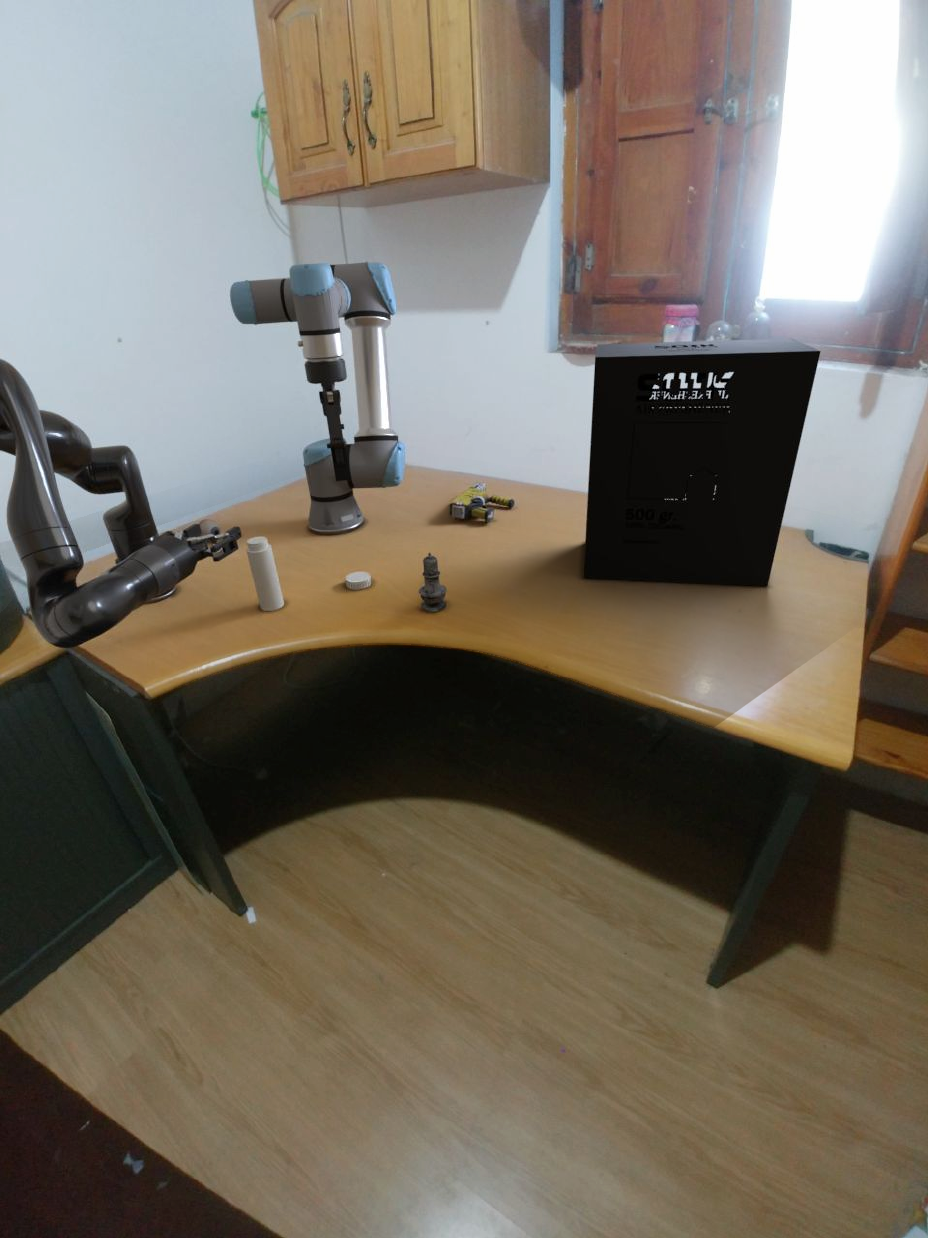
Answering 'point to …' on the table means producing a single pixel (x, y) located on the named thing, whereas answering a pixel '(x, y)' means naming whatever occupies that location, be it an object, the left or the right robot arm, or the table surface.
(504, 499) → the toy gun
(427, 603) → the dark grey chess piece
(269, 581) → the jar
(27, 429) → the left robot arm
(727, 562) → the cardboard box
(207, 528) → the eyeball
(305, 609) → the table surface
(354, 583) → the lid
